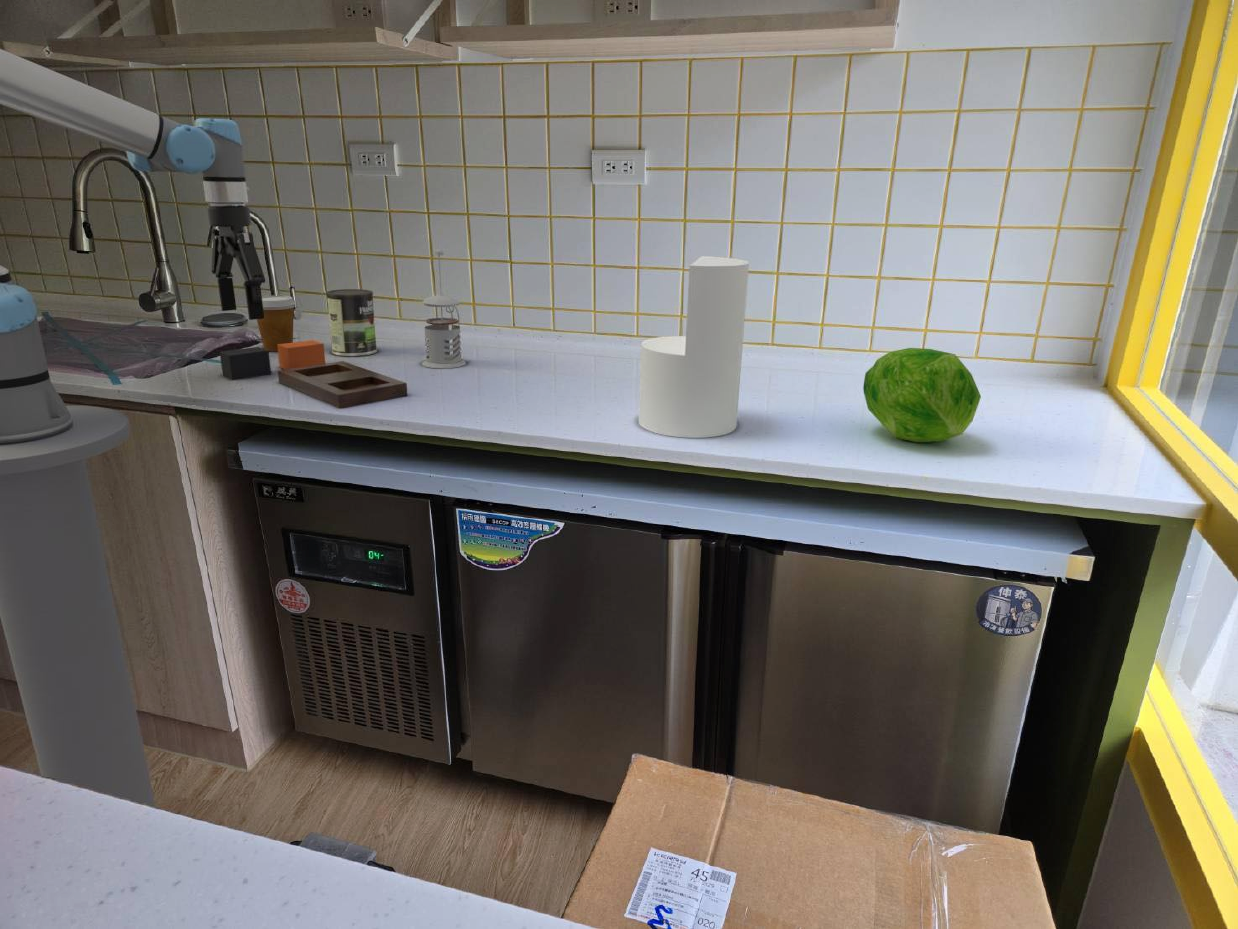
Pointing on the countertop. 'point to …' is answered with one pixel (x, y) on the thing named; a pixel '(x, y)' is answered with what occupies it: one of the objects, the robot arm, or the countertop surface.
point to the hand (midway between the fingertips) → (242, 314)
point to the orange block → (301, 354)
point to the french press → (442, 333)
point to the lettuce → (921, 394)
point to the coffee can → (351, 322)
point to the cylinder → (698, 357)
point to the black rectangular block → (245, 363)
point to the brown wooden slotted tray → (342, 384)
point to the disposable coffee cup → (276, 321)
